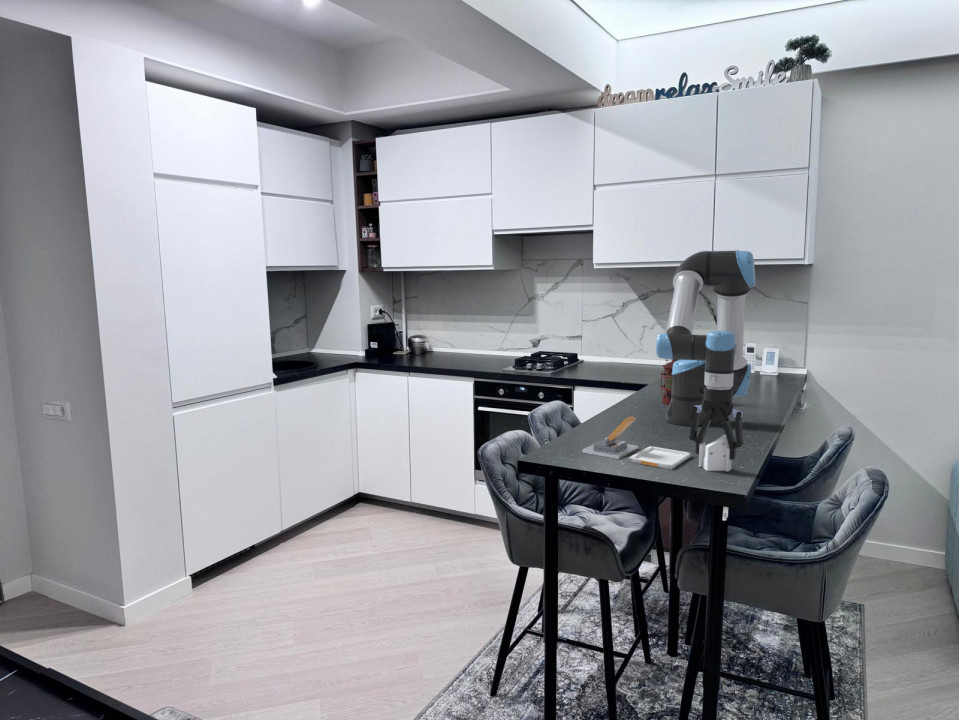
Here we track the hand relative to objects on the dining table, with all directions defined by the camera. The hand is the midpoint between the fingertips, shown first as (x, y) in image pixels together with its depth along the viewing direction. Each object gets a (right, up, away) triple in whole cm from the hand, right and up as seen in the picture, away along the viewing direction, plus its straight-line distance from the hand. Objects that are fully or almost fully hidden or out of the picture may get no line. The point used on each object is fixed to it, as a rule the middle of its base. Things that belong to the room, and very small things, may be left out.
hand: (714, 467), depth 187 cm
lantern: (+15, +12, +91) cm, 93 cm away
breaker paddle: (-26, +6, +19) cm, 32 cm away
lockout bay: (-13, +1, +10) cm, 16 cm away
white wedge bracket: (0, -1, 0) cm, 1 cm away
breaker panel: (-26, +2, +19) cm, 32 cm away
